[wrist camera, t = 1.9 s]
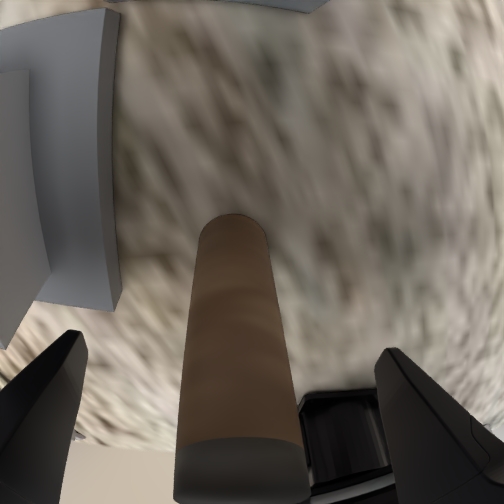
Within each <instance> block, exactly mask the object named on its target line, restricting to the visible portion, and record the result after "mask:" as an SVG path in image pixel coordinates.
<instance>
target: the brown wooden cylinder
mask: <svg viewBox="0 0 504 504" xmlns="http://www.w3.org/2000/svg"><path fill="white" fill-rule="evenodd" d="M310 496H311V488H310V482H309V476H308V470H307V463H306V457H305V451H304V445H303V439H302V434H301V428H300V422H299V416H298V410H297V404H296V399H295V393H294V387H293V381H292V376H291V370H290V365H289V359H288V353H287V348H286V342H285V337H284V331H283V326H282V320H281V315H280V310H279V304H278V299H277V294H276V288H275V283H274V278H273V272H272V267H271V262H270V257H269V252H268V246H267V241H266V236H265V233H264V231H263V229H262V228H261V227H260V225H259V224H258V223H256V222H255V221H254V220H252V219H251V218H248V217H246V216H243V215H238V214H228V215H223V216H220V217H217V218H215V219H213V220H212V221H210V222H209V223H208V224H207V225H206V226H205V227H204V229H203V230H202V232H201V235H200V238H199V245H198V251H197V258H196V265H195V272H194V279H193V286H192V294H191V301H190V309H189V317H188V325H187V334H186V342H185V351H184V360H183V370H182V380H181V391H180V402H179V413H178V426H177V439H176V454H175V470H174V490H173V499H174V500H175V501H176V502H177V503H179V504H297V503H299V502H302V501H304V500H306V499H307V498H309V497H310Z"/></svg>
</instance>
